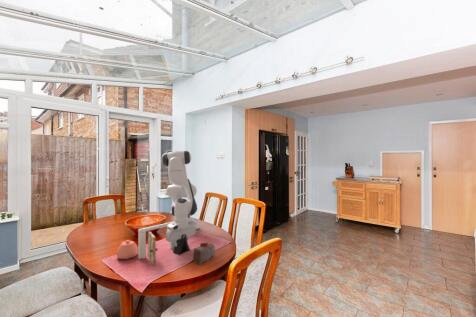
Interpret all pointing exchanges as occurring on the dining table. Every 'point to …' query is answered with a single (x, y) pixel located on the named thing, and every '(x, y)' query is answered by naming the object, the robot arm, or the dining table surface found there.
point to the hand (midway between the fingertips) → (181, 244)
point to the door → (151, 247)
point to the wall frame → (143, 239)
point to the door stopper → (181, 246)
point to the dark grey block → (203, 252)
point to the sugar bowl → (127, 250)
